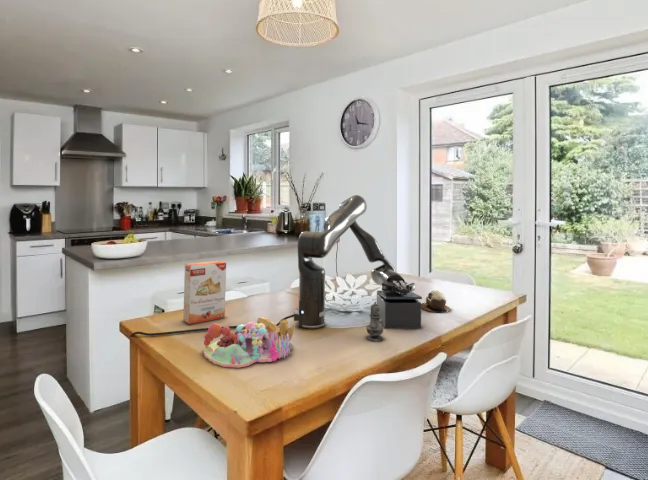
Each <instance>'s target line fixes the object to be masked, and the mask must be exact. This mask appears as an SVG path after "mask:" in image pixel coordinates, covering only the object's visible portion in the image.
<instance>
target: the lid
mask: <svg viewBox="0 0 648 480" xmlns="http://www.w3.org/2000/svg"><path fill="white" fill-rule="evenodd" d="M377 293H378V294H379V295H381V296H382V297H384V298H385V299H417V300H423V297H422V296H421V295H419V294H417V293H415V292H414V291H412V292H410V293H408V294H407V295H401V294H400V293H392V292H388V291H384V290H376V294H377Z"/></svg>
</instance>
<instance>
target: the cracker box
mask: <svg viewBox="0 0 648 480" xmlns="http://www.w3.org/2000/svg"><path fill="white" fill-rule="evenodd" d="M226 283H227V262H226V261H222V260H214V261H213V260H212V261H211V260H210V261H200V262H190V263H185V264H184V283H183V316H182V317H183V321H184V322H185V323H186V324H188V325H192V324H198V323H204V322H208V321H213V320H220V319H224V318H226V288H227V287H226V285H227V284H226Z"/></svg>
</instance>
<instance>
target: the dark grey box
mask: <svg viewBox="0 0 648 480" xmlns="http://www.w3.org/2000/svg"><path fill="white" fill-rule="evenodd" d="M376 304H377V305H379V307H380V313H379V315H380V316H381V317H380V324H381V326H383V327H384V329H421V328H422V308H421V304H422V302H420V300H419V299H385V298H384V297H382V296H381V295H379V294H378V293H377V292H376Z"/></svg>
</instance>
